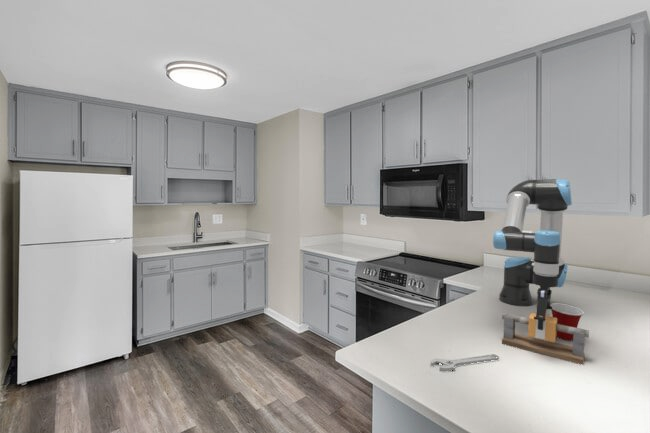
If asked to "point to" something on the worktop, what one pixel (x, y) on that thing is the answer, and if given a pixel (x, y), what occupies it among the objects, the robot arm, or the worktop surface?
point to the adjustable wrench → (462, 361)
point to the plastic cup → (566, 318)
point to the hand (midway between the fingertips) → (542, 331)
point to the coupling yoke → (549, 330)
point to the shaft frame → (544, 346)
